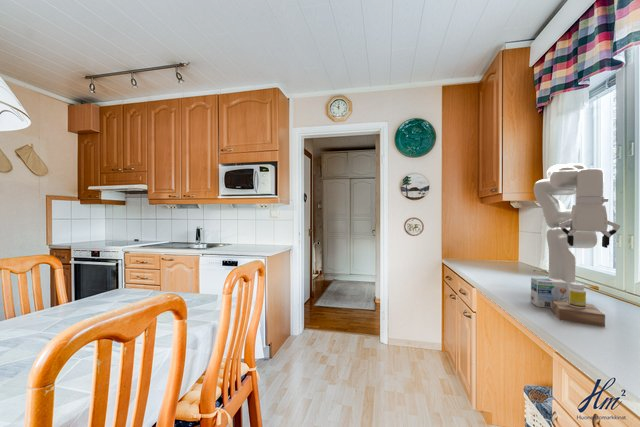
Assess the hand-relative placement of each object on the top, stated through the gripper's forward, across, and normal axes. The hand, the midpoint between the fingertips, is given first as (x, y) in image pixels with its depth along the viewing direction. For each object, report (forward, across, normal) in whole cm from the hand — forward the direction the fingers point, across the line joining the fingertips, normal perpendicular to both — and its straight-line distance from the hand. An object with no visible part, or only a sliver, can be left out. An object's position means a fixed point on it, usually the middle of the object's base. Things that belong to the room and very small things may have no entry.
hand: (587, 246), depth 110 cm
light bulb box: (+26, +11, -2) cm, 28 cm away
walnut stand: (+25, +5, +10) cm, 27 cm away
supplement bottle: (+21, +5, +9) cm, 24 cm away
